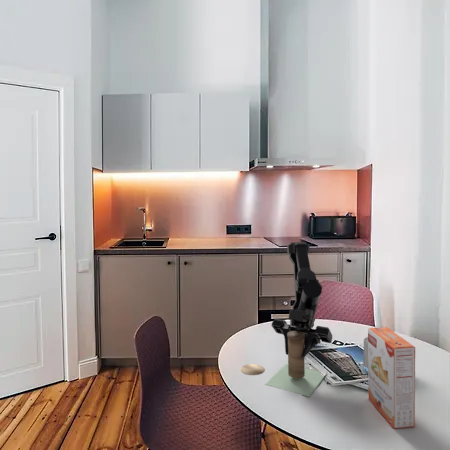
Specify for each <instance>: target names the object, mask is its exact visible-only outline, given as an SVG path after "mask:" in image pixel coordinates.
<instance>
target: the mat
mask: <svg viewBox="0 0 450 450" xmlns="http://www.w3.org/2000/svg"><path fill="white" fill-rule="evenodd" d="M318 371H319V370H313V369H309V368H306V367H305V376H304V377H302V378H292V377H290V376H289V375H288V363H286V364H285V365H283V367H281V368H280V370H278V371H277V372H276V373H275V374H274V375H273V376H272V377H271V378H270V379H269V380H268V381H267V382H266V383H265V384H264V386H269V387H273V388H276V389H281V390H284V391H288V392H291V393H295V394H300V395H301V396H302V397H304V398H310V397H311V396H312V395H313V393H314V392H315V390H316V389H317V388H318V387H319V385H320V384H321V383H322V382H323V380H324V379H325V377H323V376H322V375H321V374H320V373H319V372H320V371H319V372H318Z"/></svg>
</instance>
